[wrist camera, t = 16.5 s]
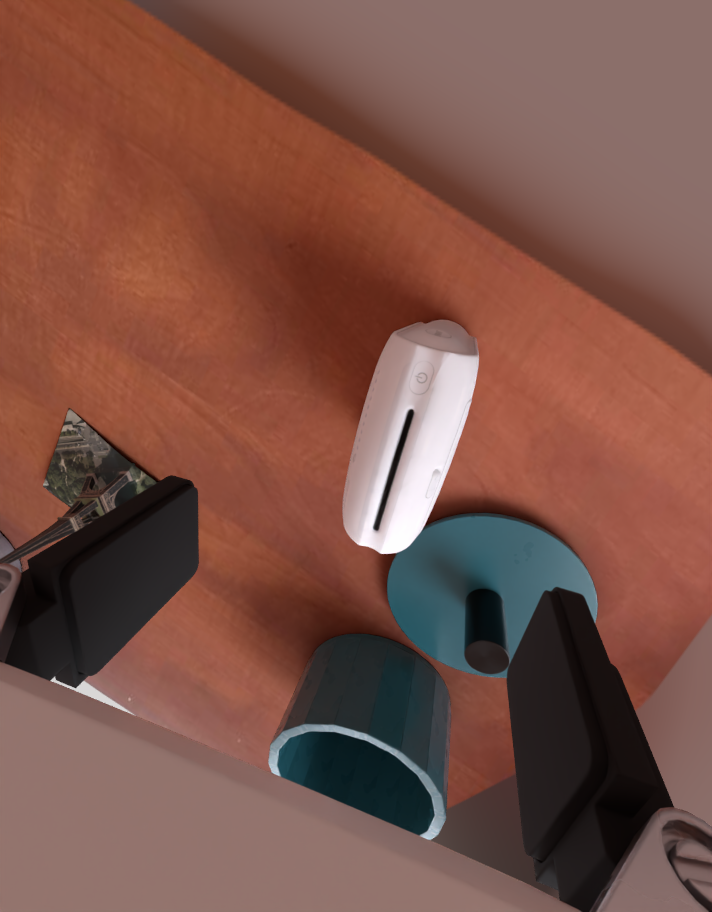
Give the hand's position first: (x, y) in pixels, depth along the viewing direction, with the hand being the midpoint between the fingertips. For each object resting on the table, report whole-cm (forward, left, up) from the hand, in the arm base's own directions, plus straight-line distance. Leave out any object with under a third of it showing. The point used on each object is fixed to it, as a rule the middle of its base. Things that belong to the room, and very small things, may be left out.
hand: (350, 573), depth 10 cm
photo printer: (0, -1, -18) cm, 18 cm away
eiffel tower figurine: (+26, +15, -18) cm, 35 cm away
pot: (-2, +28, -18) cm, 34 cm away
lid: (-8, +13, -17) cm, 23 cm away
